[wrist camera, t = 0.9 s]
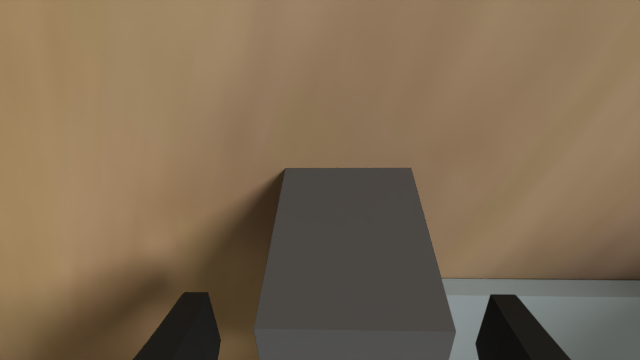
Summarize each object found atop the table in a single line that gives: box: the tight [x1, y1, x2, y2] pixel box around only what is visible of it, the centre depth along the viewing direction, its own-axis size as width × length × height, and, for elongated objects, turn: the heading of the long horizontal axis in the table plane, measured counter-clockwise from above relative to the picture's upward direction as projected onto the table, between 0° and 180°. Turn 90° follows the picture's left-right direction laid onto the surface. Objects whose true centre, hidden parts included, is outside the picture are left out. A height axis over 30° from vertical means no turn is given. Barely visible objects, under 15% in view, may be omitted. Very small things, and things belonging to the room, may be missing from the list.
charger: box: [254, 168, 456, 360], centre depth 12 cm, size 4×4×6 cm
